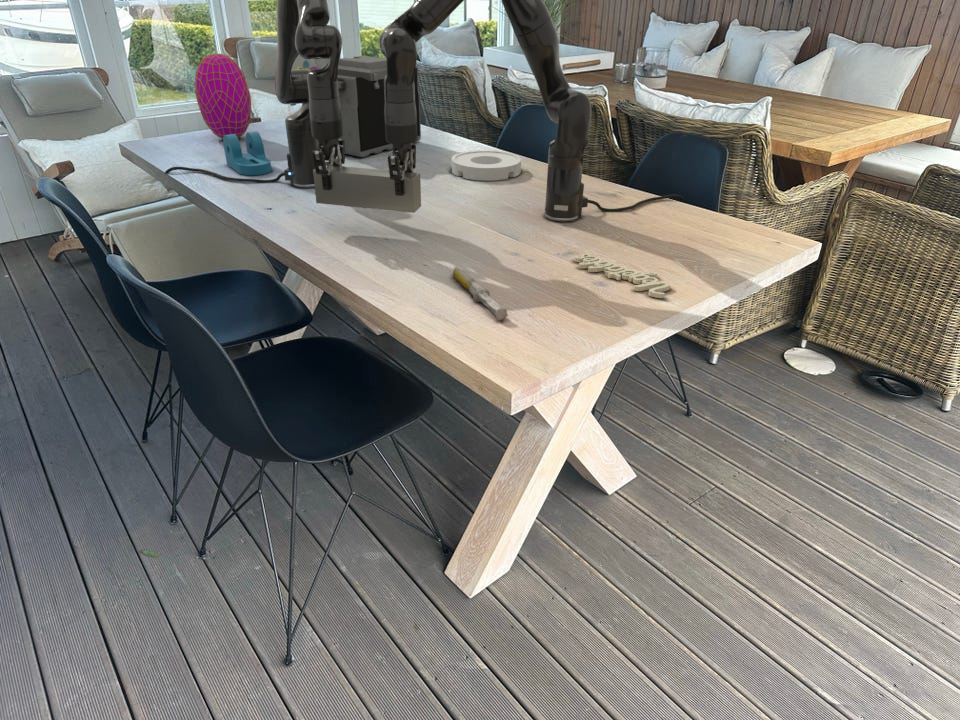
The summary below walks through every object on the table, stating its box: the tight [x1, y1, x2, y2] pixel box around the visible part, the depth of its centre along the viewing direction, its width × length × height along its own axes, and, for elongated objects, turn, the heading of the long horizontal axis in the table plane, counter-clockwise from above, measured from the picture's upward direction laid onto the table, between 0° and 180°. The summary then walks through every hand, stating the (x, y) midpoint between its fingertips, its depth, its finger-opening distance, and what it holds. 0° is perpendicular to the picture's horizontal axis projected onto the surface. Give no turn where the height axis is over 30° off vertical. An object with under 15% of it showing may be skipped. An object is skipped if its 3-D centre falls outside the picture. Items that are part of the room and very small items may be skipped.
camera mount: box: [222, 131, 272, 176], centre depth 226 cm, size 18×10×10 cm, turn 35°
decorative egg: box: [194, 53, 252, 140], centre depth 258 cm, size 19×19×30 cm
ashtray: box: [451, 149, 522, 182], centre depth 228 cm, size 23×23×4 cm
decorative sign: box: [574, 252, 671, 299], centre depth 155 cm, size 26×1×10 cm
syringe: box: [452, 266, 509, 321], centre depth 145 cm, size 25×4×3 cm, turn 21°
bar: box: [313, 165, 422, 214], centre depth 172 cm, size 26×5×8 cm, turn 76°
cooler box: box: [338, 55, 422, 159], centre depth 250 cm, size 37×22×30 cm, turn 144°
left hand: (332, 186), depth 174 cm, fingers closed on bar, 5 cm apart
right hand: (404, 191), depth 170 cm, fingers closed on bar, 5 cm apart
